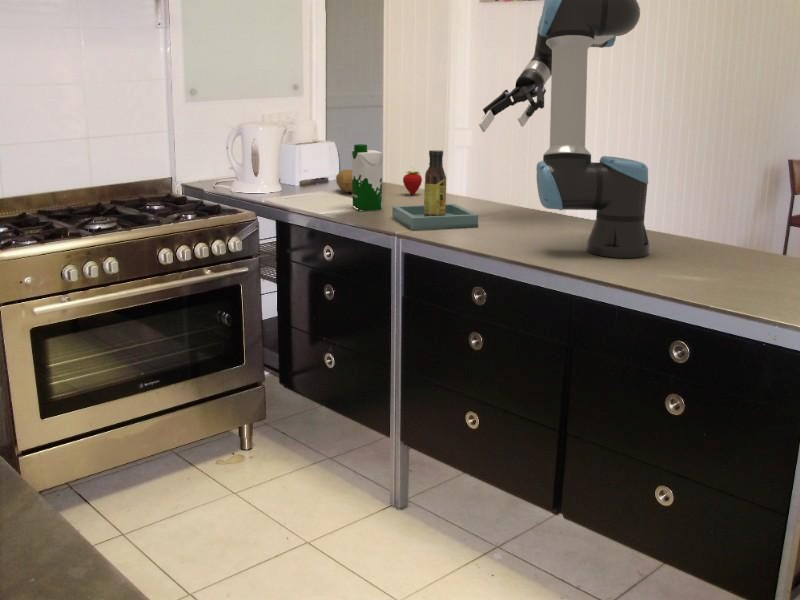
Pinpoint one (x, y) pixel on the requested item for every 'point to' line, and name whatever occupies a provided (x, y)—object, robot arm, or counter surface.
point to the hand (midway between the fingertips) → (500, 125)
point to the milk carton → (366, 178)
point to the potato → (345, 180)
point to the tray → (434, 218)
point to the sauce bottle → (435, 186)
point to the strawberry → (412, 181)
